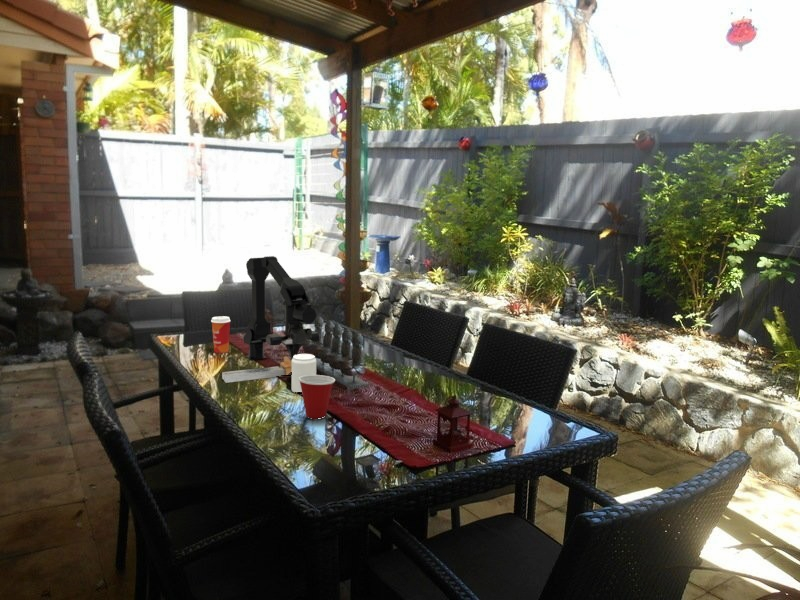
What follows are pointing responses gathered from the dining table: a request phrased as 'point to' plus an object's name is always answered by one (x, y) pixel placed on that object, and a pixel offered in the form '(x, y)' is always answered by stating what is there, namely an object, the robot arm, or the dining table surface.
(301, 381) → the plastic cup
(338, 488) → the dining table surface
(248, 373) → the base
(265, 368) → the bar
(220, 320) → the paper cup
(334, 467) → the dining table surface
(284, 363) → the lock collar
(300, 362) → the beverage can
